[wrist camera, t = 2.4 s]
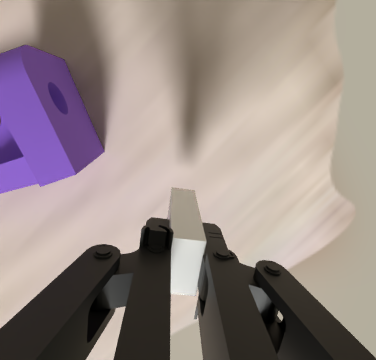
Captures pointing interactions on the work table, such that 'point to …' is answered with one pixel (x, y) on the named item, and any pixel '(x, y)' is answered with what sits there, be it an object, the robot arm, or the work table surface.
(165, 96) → the work table surface
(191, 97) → the work table surface
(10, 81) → the bracket
